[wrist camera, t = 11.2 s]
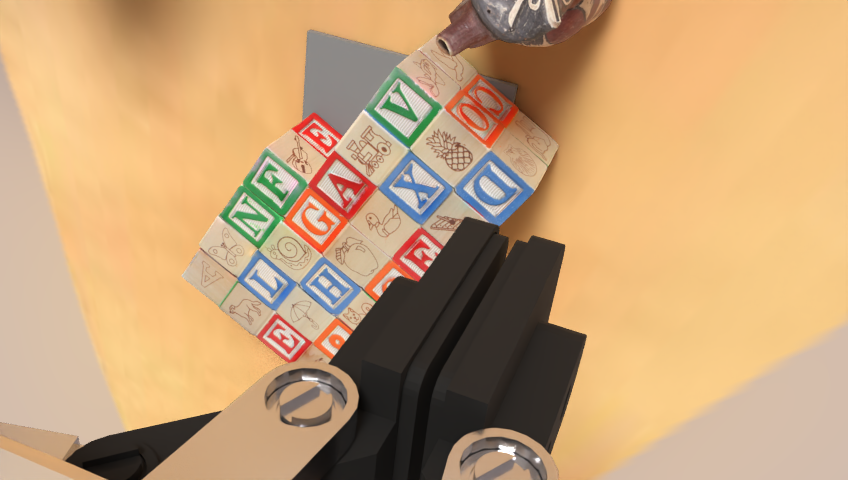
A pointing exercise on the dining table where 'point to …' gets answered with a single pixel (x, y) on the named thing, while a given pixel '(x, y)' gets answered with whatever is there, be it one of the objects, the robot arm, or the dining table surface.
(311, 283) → the stack of blocks
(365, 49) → the mat
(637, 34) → the dining table surface
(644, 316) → the dining table surface
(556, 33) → the figurine
